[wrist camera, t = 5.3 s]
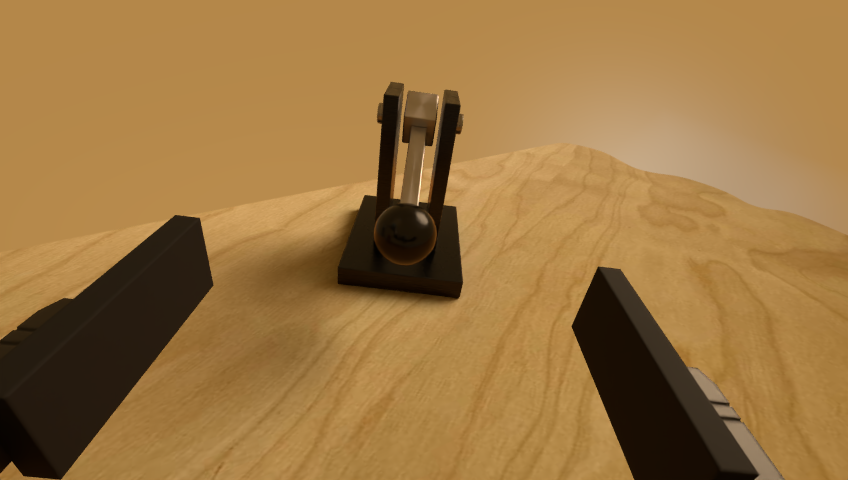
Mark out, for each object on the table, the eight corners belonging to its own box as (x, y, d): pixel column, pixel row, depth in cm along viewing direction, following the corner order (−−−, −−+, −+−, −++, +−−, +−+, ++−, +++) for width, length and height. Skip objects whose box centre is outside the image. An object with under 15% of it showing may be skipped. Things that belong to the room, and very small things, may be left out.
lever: (430, 280, 23) (438, 248, 20) (369, 272, 23) (368, 239, 20) (442, 128, 30) (450, 88, 27) (396, 122, 30) (398, 81, 27)
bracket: (459, 298, 29) (499, 125, 22) (337, 283, 28) (339, 103, 22) (453, 219, 39) (479, 85, 32) (363, 208, 39) (371, 69, 32)
